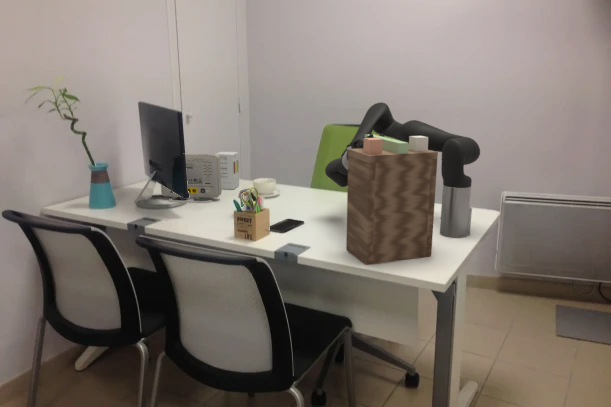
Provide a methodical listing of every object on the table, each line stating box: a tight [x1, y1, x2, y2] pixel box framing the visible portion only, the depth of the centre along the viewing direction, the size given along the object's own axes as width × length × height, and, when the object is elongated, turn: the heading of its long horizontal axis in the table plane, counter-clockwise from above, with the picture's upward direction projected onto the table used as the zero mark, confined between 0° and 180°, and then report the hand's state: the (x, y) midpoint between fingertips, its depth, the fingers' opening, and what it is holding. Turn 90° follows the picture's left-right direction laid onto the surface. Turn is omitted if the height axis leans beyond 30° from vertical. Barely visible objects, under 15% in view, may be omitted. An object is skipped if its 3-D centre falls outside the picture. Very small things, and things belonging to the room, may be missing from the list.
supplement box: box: [216, 151, 240, 190], centre depth 254 cm, size 10×9×17 cm
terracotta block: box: [363, 138, 383, 154], centre depth 152 cm, size 4×4×4 cm
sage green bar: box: [365, 134, 409, 154], centre depth 161 cm, size 3×22×3 cm, turn 20°
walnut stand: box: [345, 148, 439, 266], centre depth 161 cm, size 22×14×32 cm, turn 110°
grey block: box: [409, 136, 428, 151], centre depth 157 cm, size 4×4×4 cm
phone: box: [269, 218, 305, 234], centre depth 192 cm, size 8×1×15 cm
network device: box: [160, 153, 222, 204], centre depth 229 cm, size 26×9×20 cm, turn 84°
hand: (377, 136), depth 165 cm, fingers closed on sage green bar, 3 cm apart
